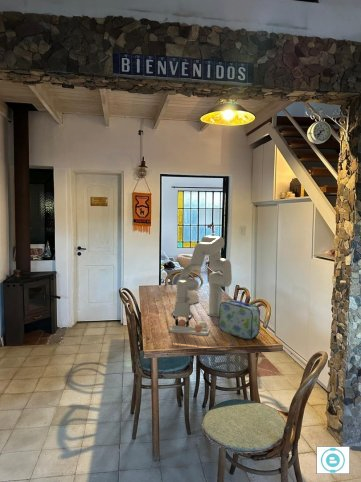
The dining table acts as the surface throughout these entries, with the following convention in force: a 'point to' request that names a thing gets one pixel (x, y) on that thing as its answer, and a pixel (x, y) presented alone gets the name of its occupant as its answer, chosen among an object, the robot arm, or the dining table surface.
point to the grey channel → (188, 330)
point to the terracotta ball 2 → (198, 328)
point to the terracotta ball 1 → (181, 322)
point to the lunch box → (239, 319)
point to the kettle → (192, 297)
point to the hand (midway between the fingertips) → (182, 326)
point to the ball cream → (203, 324)
